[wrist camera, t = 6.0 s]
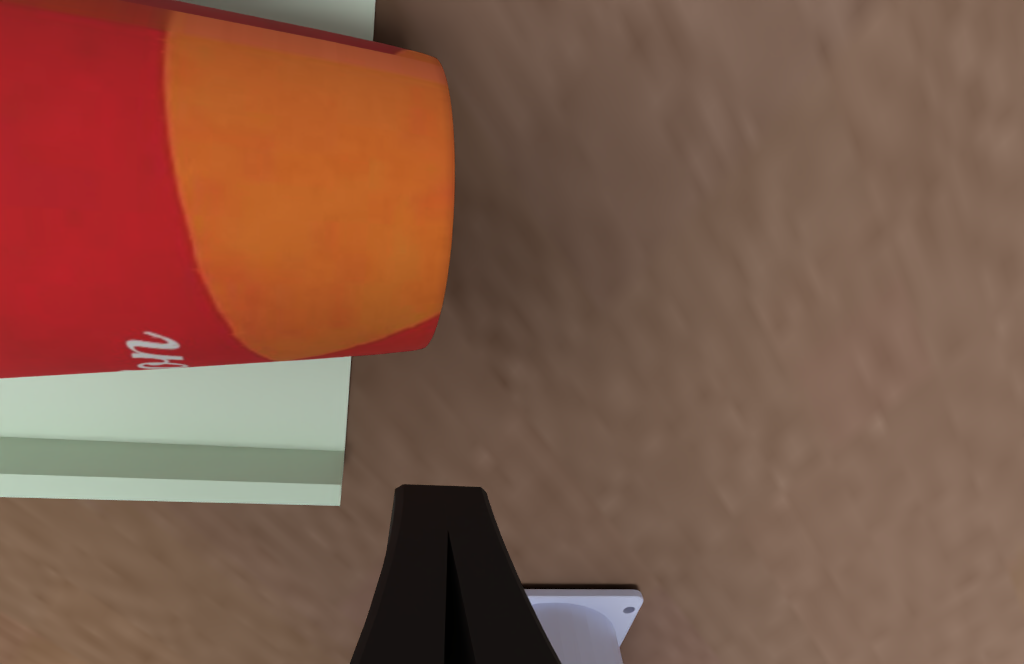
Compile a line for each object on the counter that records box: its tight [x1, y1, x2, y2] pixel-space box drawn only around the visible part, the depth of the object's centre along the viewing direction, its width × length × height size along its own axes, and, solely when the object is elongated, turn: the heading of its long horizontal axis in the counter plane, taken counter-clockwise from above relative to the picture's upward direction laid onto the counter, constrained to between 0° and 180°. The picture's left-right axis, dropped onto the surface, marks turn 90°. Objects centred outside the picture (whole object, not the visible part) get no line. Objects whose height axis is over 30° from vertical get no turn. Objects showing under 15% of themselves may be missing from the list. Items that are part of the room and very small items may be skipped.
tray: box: [0, 0, 376, 506], centre depth 16 cm, size 18×16×2 cm
